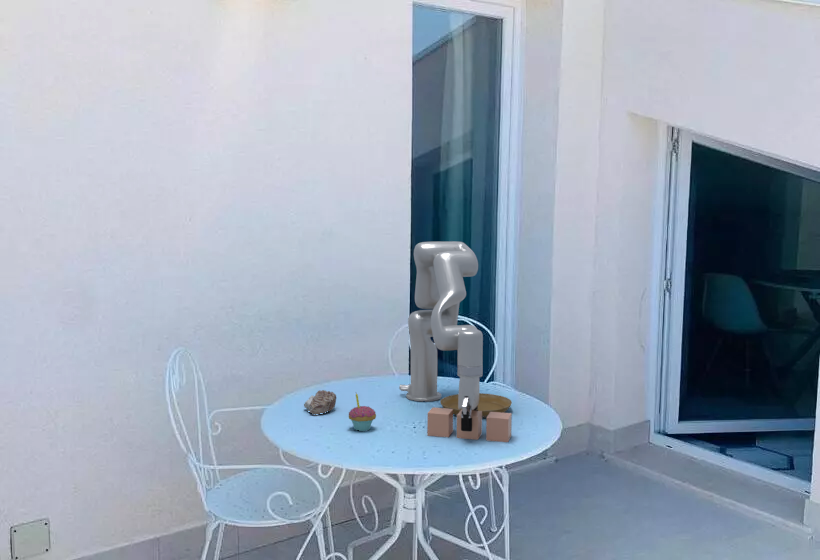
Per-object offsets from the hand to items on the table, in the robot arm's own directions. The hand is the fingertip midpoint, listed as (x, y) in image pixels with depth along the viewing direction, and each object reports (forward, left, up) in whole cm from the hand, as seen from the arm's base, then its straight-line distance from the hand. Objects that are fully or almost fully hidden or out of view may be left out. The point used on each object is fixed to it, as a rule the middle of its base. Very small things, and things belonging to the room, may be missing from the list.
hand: (469, 426), depth 238 cm
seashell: (-54, +15, -3) cm, 56 cm away
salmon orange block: (+9, 0, -3) cm, 9 cm away
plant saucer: (-4, +29, -4) cm, 30 cm away
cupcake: (-34, -2, -3) cm, 34 cm away
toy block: (0, 0, -3) cm, 3 cm away
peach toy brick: (-9, 0, -3) cm, 10 cm away
